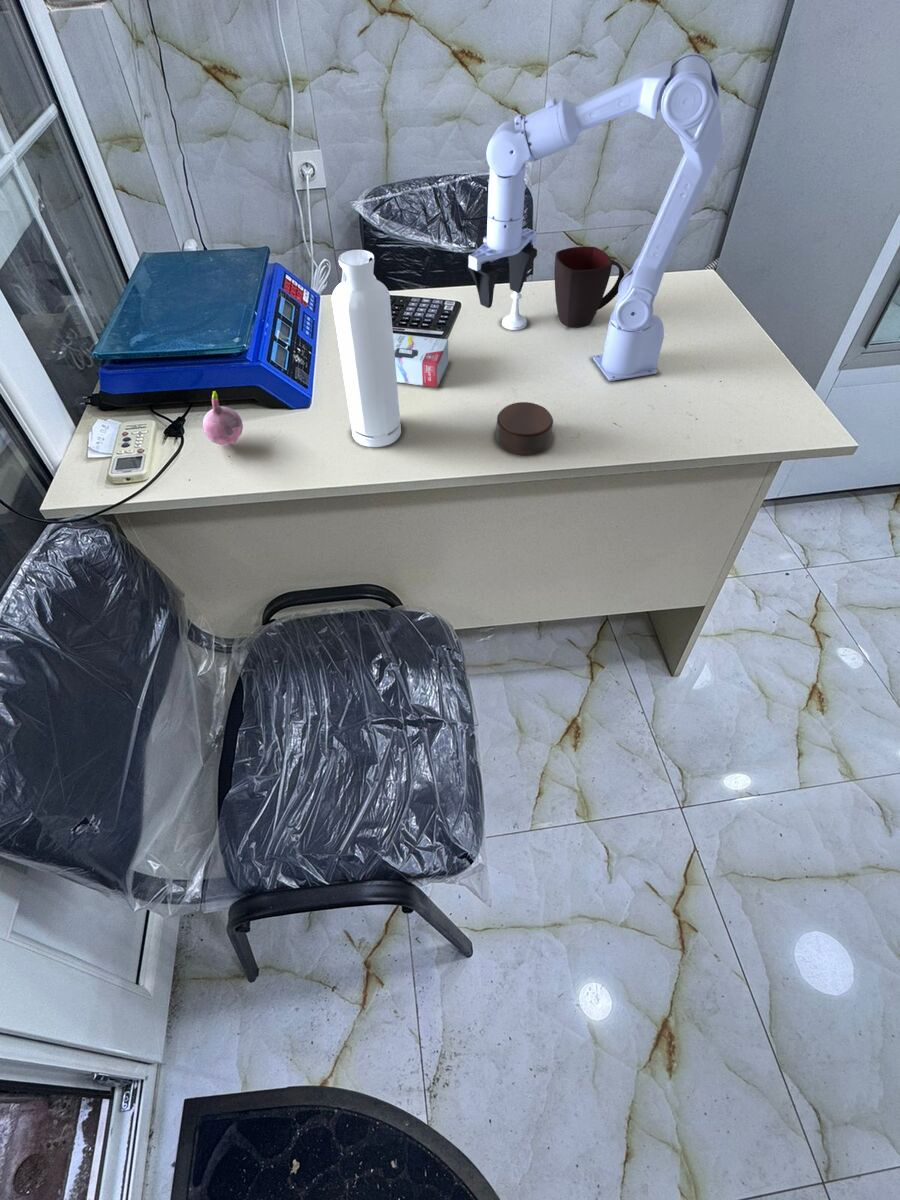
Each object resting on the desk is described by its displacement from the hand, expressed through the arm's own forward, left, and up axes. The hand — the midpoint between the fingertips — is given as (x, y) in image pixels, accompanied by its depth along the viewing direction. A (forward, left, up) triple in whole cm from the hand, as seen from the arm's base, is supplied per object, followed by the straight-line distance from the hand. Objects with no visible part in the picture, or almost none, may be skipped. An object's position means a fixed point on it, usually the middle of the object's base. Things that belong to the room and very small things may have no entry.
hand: (500, 298), depth 114 cm
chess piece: (-6, -9, -10) cm, 15 cm away
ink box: (+12, +5, -8) cm, 15 cm away
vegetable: (+51, +15, -10) cm, 54 cm away
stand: (+4, +26, -10) cm, 28 cm away
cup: (-20, -7, -10) cm, 24 cm away
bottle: (+27, +18, -10) cm, 34 cm away
